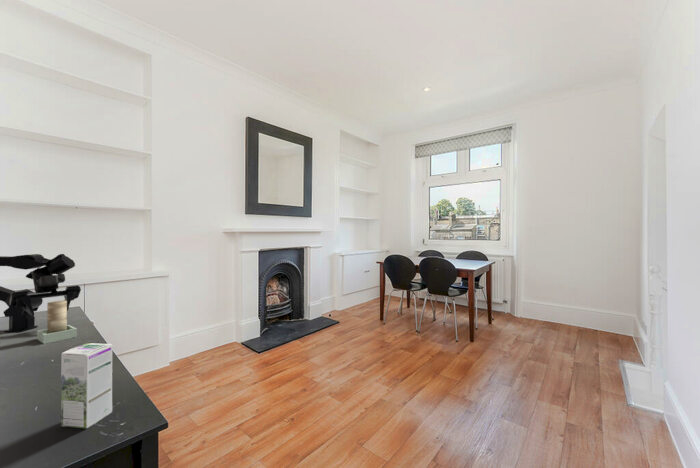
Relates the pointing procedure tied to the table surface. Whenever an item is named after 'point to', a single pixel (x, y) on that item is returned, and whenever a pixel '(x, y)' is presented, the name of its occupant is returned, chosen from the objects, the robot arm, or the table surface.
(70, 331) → the sage collar
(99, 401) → the syrup box
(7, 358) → the table surface
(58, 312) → the maple dowel
